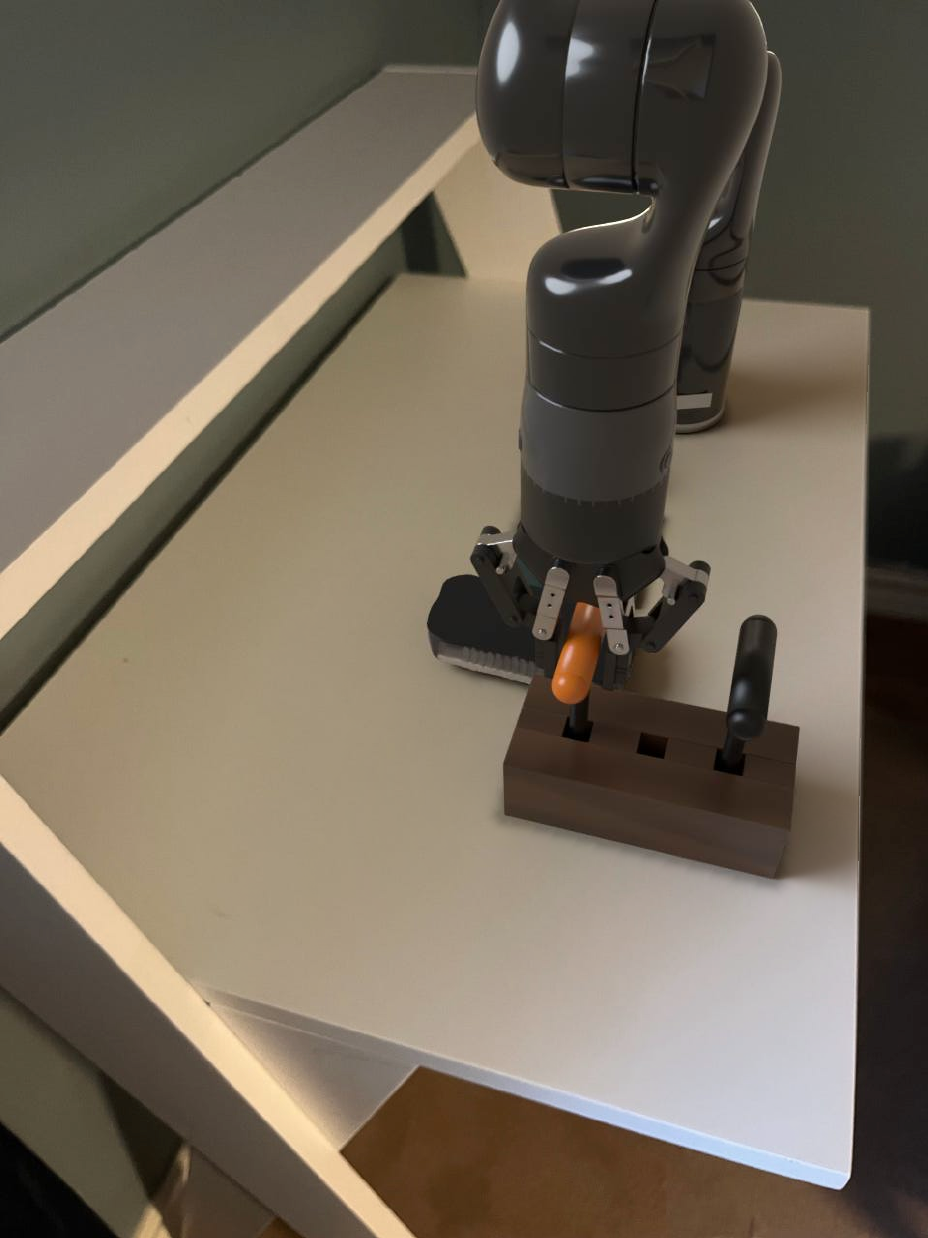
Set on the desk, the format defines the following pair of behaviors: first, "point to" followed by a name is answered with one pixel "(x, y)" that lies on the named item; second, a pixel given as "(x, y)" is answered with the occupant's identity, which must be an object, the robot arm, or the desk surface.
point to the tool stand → (653, 777)
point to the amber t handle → (579, 666)
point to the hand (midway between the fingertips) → (581, 673)
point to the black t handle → (749, 688)
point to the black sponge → (490, 634)
